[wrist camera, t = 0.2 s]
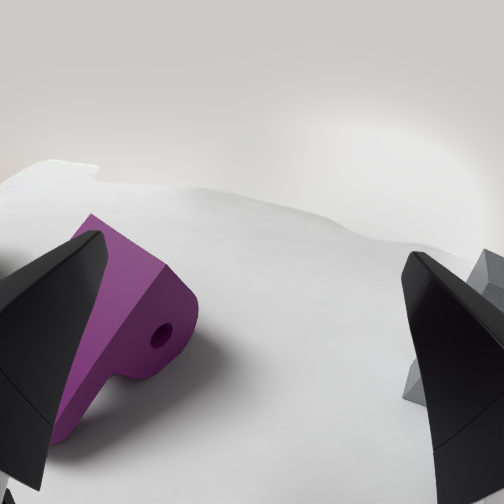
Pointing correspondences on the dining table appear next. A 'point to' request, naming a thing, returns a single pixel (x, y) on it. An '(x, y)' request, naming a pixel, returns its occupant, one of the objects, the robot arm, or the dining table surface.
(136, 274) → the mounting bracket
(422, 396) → the grey tapered peg
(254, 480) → the dining table surface
